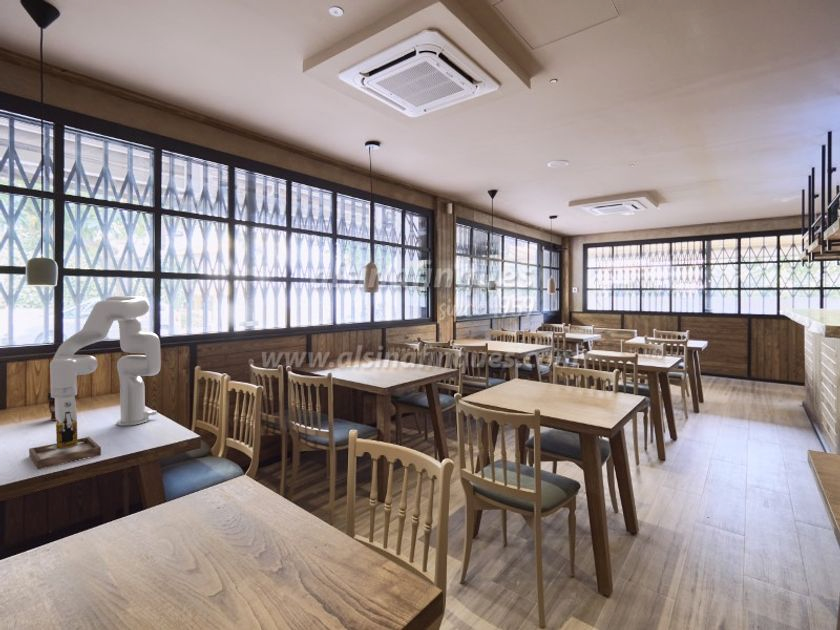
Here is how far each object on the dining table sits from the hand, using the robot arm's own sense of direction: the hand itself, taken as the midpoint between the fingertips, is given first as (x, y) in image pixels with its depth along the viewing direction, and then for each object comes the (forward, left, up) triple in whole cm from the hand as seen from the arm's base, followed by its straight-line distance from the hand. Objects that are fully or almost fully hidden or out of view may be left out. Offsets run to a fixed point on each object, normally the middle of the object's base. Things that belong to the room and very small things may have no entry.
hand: (65, 438), depth 160 cm
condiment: (0, -1, -3) cm, 3 cm away
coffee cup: (-8, -59, -7) cm, 60 cm away
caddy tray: (0, 0, -6) cm, 6 cm away
